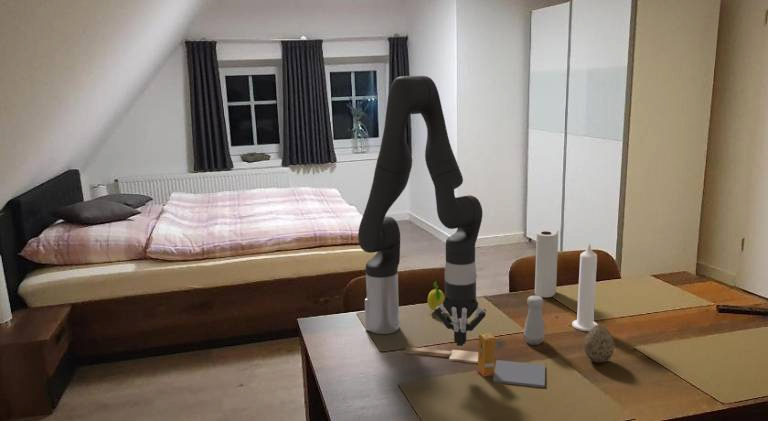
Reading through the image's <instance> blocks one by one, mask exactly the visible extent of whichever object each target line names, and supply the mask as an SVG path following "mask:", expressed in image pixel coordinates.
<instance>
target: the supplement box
mask: <svg viewBox="0 0 768 421" xmlns="http://www.w3.org/2000/svg"><path fill="white" fill-rule="evenodd" d="M477 352H478V363H477V372H478V373H479V374H480V375H481V376H482V377H483V378H484V377H485V378H486V377H490V376H494V371H495V362H496V361H495V359H496V358H495V357H496V355H495V354H496V337H495V336H494V335H493V334H491V333H490V332H485V333H479V334H478V351H477Z"/></svg>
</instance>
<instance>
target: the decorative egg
mask: <svg viewBox="0 0 768 421" xmlns="http://www.w3.org/2000/svg"><path fill="white" fill-rule="evenodd" d="M587 332H588V333H587V334H586V336H585V339H584V342H583V347H584V353H585V354H586V356H587V358H588V359H589V360H591V362H595V363H598V364H600V363H601V364H602V363H605V362H608V361H609V360H610V359H611V357H612V356H613V354H614V352H615V351H614V350H615V343H614V338H613V336H612V334H611V332H610V331H609V330H608V328H606V327H605V326H604V325H603V324H598V325H596V326H595V327H593V328H592V329H591V330H590V331H587Z"/></svg>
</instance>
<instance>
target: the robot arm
mask: <svg viewBox="0 0 768 421" xmlns="http://www.w3.org/2000/svg"><path fill="white" fill-rule="evenodd" d="M386 102H387V103H386V111H385V112H386V113H385V118H384V119H385V121H384V127H383V128H384V129H383V133H382V136H381V137H382V138H381V143H380V148H379V151H378V152H379V153H378V156H377V160H376V164H375V168H374V173H373V179H372V183H371V187H370V190H369V192H370V193H369V196H368V200H367V203H366V206H365V209H364V211H363V214H362V217H361V220H360V223H359V227H358V234H357V238H358V244H359V246H360V249H361V250H362V251H363V252H365V253H368V254H369V253H370V254H372V253H373V254H374V253H376V254H375V255H373V257H372V258H371V259H369V260H368V261H367V262H366V264H365V284H366V285H365V286H366V287H365V288H366V298H364V317H365V331H369V332H371V333H374V334H377V335H388V334H392V333H396V332H397V331H398V330H399V329H400V316H399V315H400V312H399V272H398V268H399V265H400V261H401V232H400V226H399V223H398V222H397V220H396V219H394V217H392V216H386V215H387V213H388V211H389V210H390V209H391V207H392V206H393V205H394V204H395V202H396V201H397V200H398V198H400V196H401V195H402V193H403V192H404V191H405V189H406V187H407V185H408V182H409V179H410V175H411V171H412V167H413V157H412V154H411V150H410V148H409V145H408V142H407V140H406V139H407V138H406V130H407V129H406V128H407V125H408V124H407V123H408V119H409V117H410V115H417V114H418V115H419V114H420V115H421V116H422V118H423V121H424V122H425V123H424V124H425V126H426V133H427V134H426V135H427V136H426V143H425V150H424V151H425V152H424V156H425V158H424V159H425V165H426V168H427V170H428V173H429V176H430V178H431V181H432V183H433V184H432V185H434V193H435V194H434V195H435V203H436V212H437V217H438V219H439V222H440V223H441V225H442V226H444V227H445V228H447V229H449V230H454V229H456V232H455V233H453V234H452V235H451V236H449V237H448V238H447V239H446V241H445V264H444V296H445V299H444V301H443V304H442V305H440V306H439V305H438V306H437V307H436V309H435V311H434V314H436V316H437V317H438V318H439V319H440V320H441V322H442V324H443V325H444V326H445V327H446V329H448V330H452V331H453V341H454V344H456V346H458V347H464V345H465V344H466V342H467V332H472V331H473V330H474V329H475V328H476V327H477V326H478V325H479V324H480V323H481V322H482V320H483V319H484V318H486V315H487V310H486V309H485V308H482V307H480V306H479V302H478V301H477V278H478V277H477V267H476V243H477V239H478V237H479V232H480V228H481V225H482V221H483V206H482V204H481V202H480V200H479V198H477V197H476V196H473V195H462V196H458V197H456V195H455V190H456V189H458V188H460V187H461V185H462V184H463V182H464V178H463V175H462V173H461V170H460V167H459V164H458V162H457V159H456V157H455V154H454V151H453V149H452V146H451V143H450V138H449V135H448V131H447V130H448V129H447V125H446V121H445V115H444V112H443V107H442V102H441V98H440V94H439V91H438V88H437V85H436V83H435V81H434V80H433V79H432V78H431V77H430V76H425V75H403V76H398V77H396V78H395V79H393V81H392V83H391V86H390V88H389V90H388V95H387V101H386ZM446 312H447V313H448V314H449V315H448V314H447V313H446ZM474 313H475V316H474V318H473V319H472V320H471V321H470V322H469V323H468V321H469V320H468V319H470V317H471V316H472V315H473V314H474ZM451 318H452V319H451Z"/></svg>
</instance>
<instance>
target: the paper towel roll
mask: <svg viewBox="0 0 768 421" xmlns="http://www.w3.org/2000/svg"><path fill="white" fill-rule="evenodd" d="M535 244H536V245H535V270H534V271H535V272H534V274H535V275H534V276H535V277H534V296H540V297H541V298H551V297H553V296H555V293H556V292H557V278H558V277H557V276H558V254H559V251H558V250H559V230H558V231H557V232H554V231H552V230H551V231H549V230H540V231H537V232H536V242H535Z"/></svg>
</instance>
